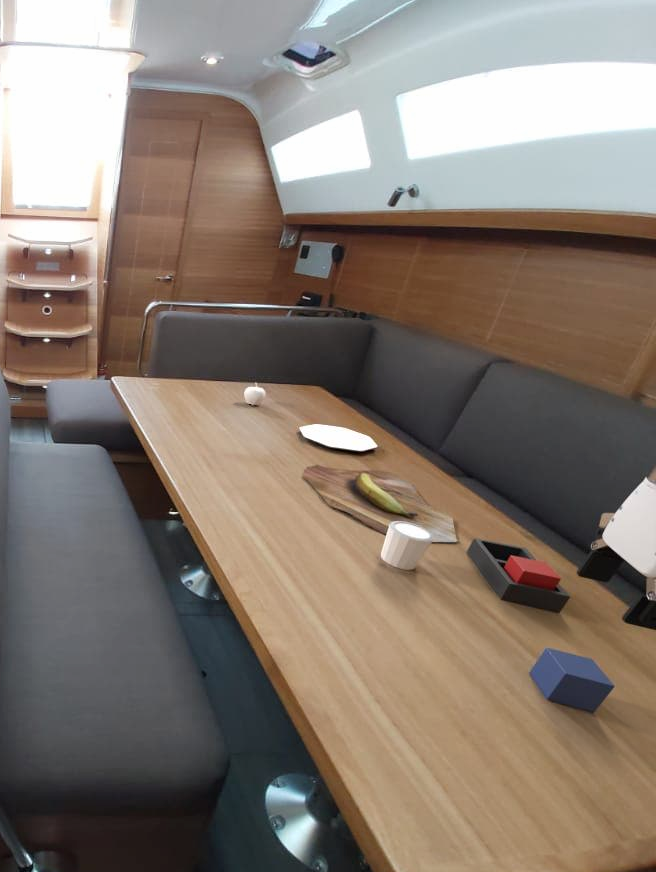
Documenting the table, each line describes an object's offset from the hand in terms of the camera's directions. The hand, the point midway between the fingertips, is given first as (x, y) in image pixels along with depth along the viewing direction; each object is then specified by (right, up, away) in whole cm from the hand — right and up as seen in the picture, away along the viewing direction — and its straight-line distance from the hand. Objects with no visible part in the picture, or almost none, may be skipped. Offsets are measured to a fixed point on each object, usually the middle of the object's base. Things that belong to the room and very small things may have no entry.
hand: (613, 600), depth 64 cm
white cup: (-3, -1, +32) cm, 32 cm away
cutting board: (+9, +9, +54) cm, 56 cm away
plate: (+21, +24, +88) cm, 94 cm away
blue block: (-1, -14, +5) cm, 15 cm away
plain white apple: (+10, +39, +118) cm, 125 cm away
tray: (+14, -4, +28) cm, 32 cm away
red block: (+13, -5, +25) cm, 28 cm away
